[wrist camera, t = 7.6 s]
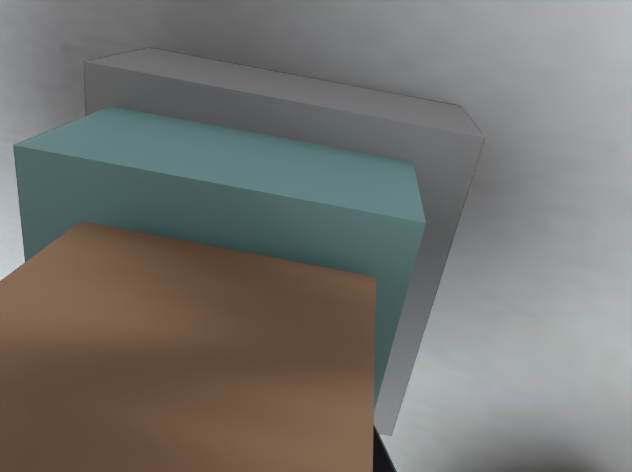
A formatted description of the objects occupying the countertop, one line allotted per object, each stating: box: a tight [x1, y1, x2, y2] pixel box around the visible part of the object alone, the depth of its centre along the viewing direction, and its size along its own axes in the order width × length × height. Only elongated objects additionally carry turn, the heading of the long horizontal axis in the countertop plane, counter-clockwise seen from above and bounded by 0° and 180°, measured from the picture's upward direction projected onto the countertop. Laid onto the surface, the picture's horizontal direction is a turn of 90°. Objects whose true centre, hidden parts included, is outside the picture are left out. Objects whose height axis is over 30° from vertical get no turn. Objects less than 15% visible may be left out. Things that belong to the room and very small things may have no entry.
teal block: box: [13, 106, 426, 410], centre depth 12 cm, size 7×7×4 cm
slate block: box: [84, 48, 485, 436], centre depth 15 cm, size 9×9×4 cm
